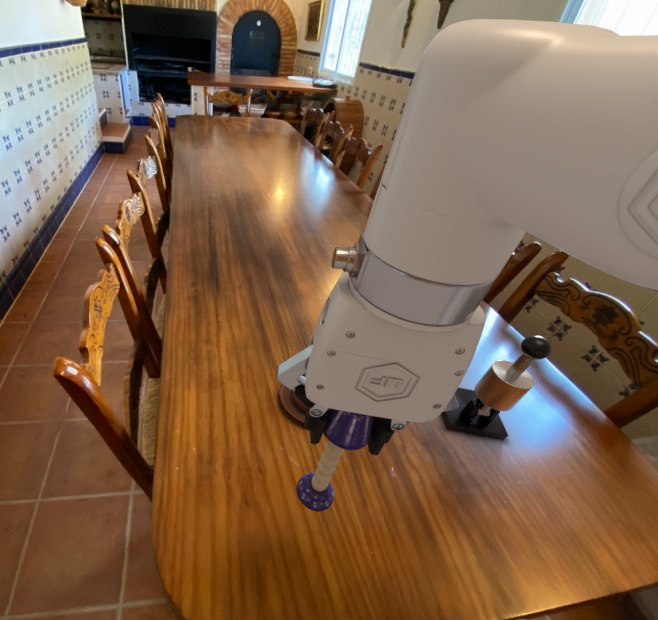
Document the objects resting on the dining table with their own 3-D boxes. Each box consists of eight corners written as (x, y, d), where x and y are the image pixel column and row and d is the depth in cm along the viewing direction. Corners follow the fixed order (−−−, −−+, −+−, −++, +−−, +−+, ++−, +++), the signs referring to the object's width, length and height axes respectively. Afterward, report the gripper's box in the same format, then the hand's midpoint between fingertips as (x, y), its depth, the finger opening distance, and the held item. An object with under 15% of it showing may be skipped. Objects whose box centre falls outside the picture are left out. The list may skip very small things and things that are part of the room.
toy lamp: (296, 467, 43) (327, 377, 33) (334, 473, 43) (378, 384, 32) (296, 508, 39) (331, 422, 29) (338, 515, 39) (389, 431, 29)
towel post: (503, 430, 62) (576, 357, 50) (467, 424, 62) (531, 349, 51) (489, 402, 67) (553, 329, 55) (456, 396, 67) (512, 322, 55)
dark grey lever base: (504, 440, 64) (528, 416, 59) (446, 429, 65) (466, 405, 60) (484, 397, 71) (505, 373, 67) (433, 388, 72) (449, 364, 68)
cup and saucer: (272, 378, 71) (277, 357, 67) (330, 376, 73) (337, 355, 69) (285, 432, 62) (291, 412, 58) (350, 428, 64) (361, 408, 60)
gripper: (276, 291, 20) (248, 456, 32) (600, 337, 19) (446, 492, 30) (283, 231, 26) (257, 389, 37) (530, 262, 24) (424, 417, 36)
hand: (342, 434), depth 34 cm, fingers closed on toy lamp, 4 cm apart
